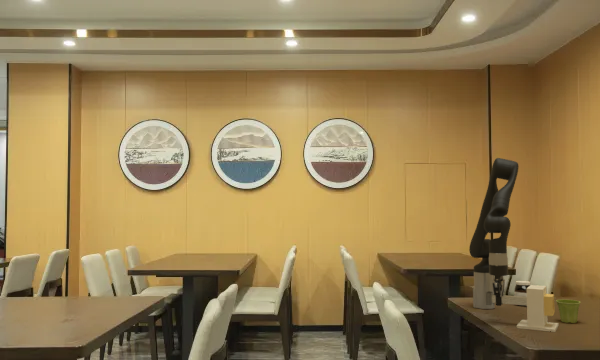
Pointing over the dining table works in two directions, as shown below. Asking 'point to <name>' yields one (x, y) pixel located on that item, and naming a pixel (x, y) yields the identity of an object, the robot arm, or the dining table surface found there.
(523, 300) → the shaft
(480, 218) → the robot arm
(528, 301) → the bracket
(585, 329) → the dining table surface
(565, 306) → the plant pot
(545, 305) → the block
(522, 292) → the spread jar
